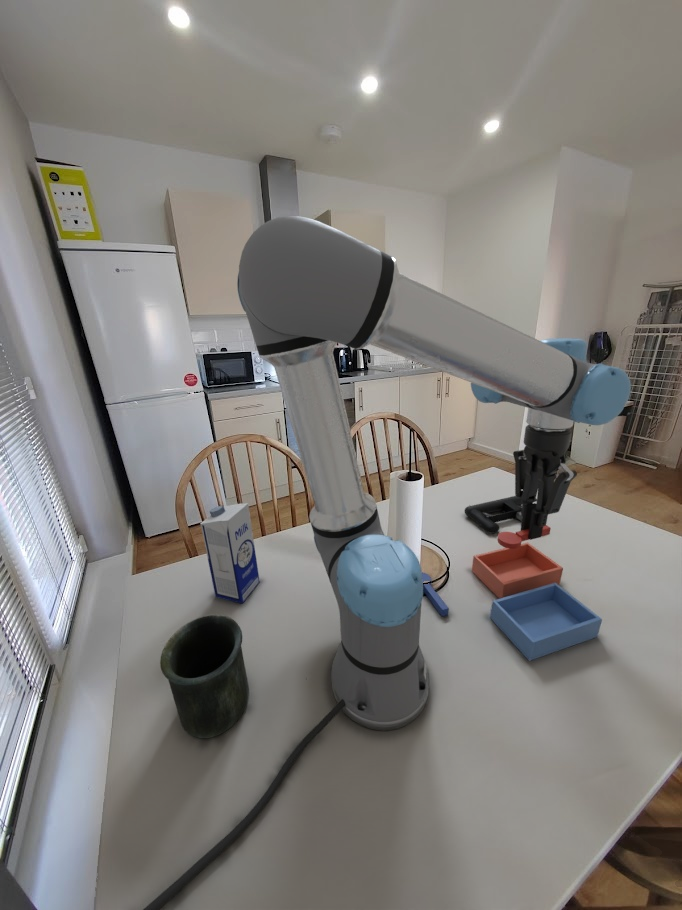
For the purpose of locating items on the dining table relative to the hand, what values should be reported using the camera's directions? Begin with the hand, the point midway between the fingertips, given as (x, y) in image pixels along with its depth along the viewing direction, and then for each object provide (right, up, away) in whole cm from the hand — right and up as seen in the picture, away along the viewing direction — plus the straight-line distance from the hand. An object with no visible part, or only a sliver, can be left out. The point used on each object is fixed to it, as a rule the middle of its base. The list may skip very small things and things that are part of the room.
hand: (530, 534), depth 74 cm
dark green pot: (-59, -21, -18) cm, 65 cm away
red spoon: (-2, -1, 0) cm, 2 cm away
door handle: (+7, -2, +25) cm, 26 cm away
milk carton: (-62, -13, +3) cm, 63 cm away
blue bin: (-3, -15, -9) cm, 18 cm away
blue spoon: (-21, -12, 0) cm, 25 cm away
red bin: (-2, -10, +3) cm, 11 cm away
